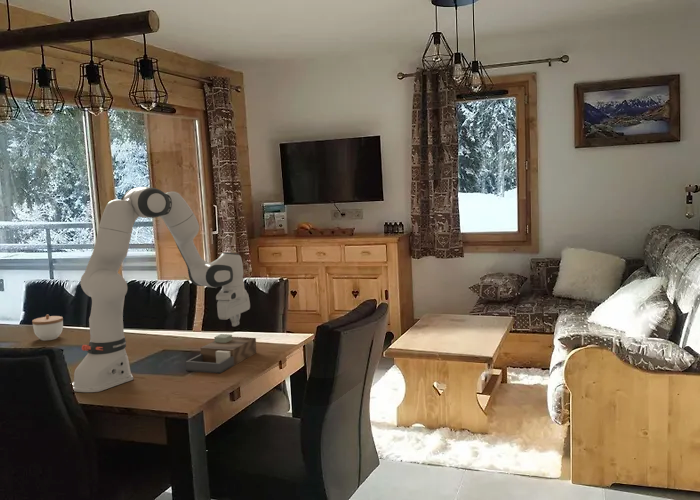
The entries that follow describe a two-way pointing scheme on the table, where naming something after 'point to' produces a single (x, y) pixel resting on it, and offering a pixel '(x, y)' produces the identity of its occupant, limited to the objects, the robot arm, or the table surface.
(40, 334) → the lidded bowl
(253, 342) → the brown flat block
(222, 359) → the cream tile
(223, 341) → the sage tile
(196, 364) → the box
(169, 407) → the table surface
